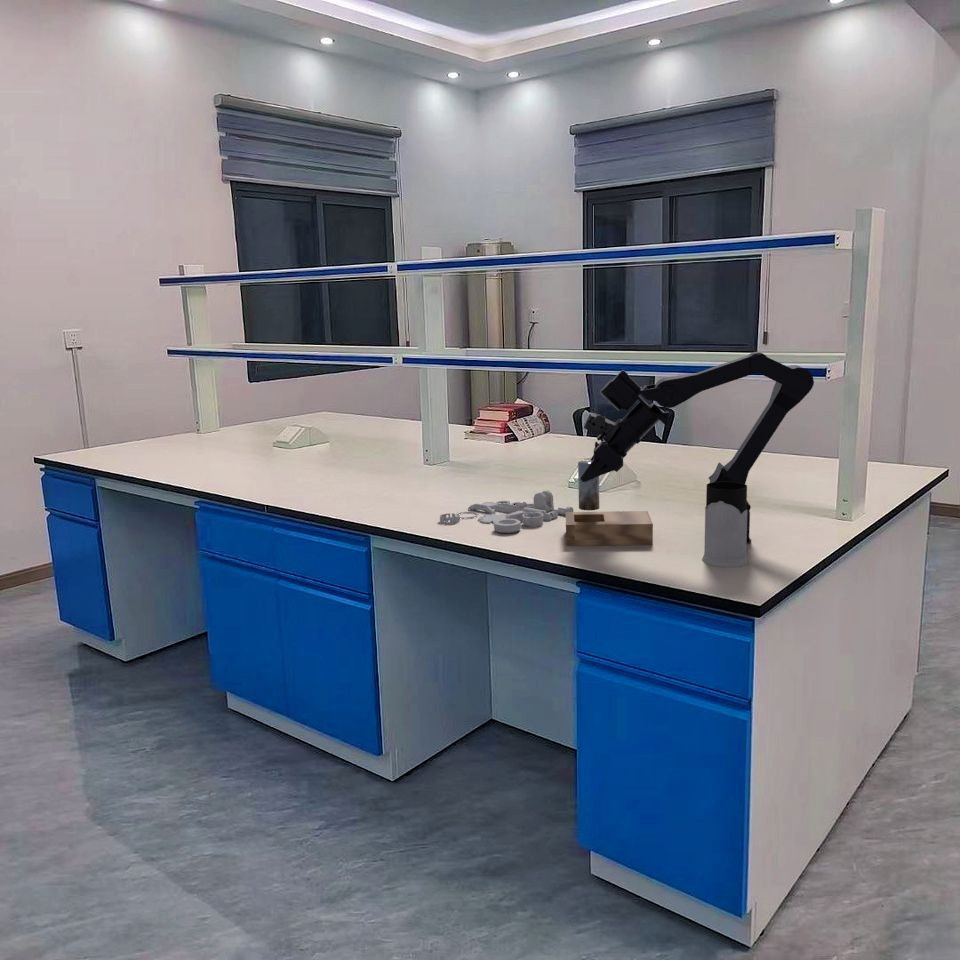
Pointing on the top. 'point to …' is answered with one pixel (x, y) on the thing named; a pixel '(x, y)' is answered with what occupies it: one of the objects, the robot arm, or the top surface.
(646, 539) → the wooden block with hole
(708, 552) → the glass holder
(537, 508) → the robot parts
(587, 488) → the axle
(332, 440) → the top surface
